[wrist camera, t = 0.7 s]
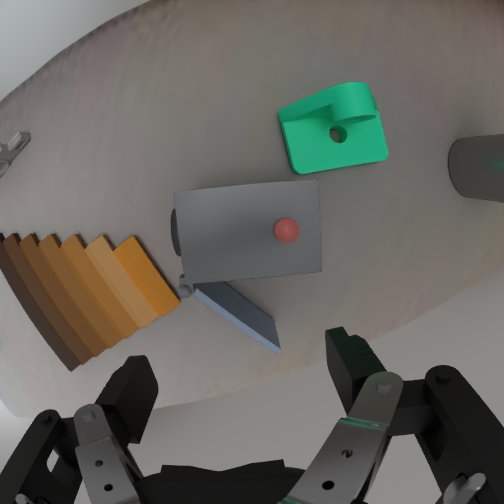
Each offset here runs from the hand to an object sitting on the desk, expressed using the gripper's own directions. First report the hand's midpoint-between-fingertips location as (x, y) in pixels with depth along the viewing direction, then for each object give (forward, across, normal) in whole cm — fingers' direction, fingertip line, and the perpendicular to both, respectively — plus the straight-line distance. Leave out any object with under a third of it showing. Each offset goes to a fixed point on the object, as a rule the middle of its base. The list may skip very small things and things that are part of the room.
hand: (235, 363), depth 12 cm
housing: (+23, 0, -2) cm, 23 cm away
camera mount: (+24, -13, -11) cm, 29 cm away
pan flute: (+24, +25, -2) cm, 34 cm away
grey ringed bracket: (+23, +33, -20) cm, 45 cm away
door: (+23, +2, +6) cm, 24 cm away
